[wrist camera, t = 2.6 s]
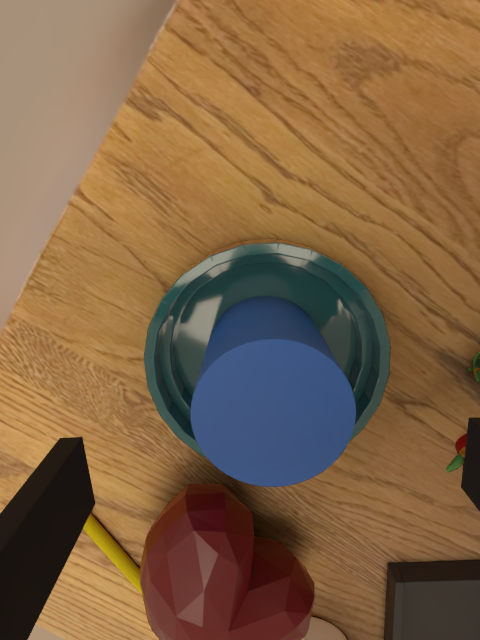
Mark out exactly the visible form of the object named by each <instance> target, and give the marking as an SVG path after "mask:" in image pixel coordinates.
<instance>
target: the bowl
mask: <svg viewBox="0 0 480 640" xmlns="http://www.w3.org/2000/svg"><path fill="white" fill-rule="evenodd" d="M258 296H273V297H279V298H282V299H286V300H288V301H290V302H292V303H294V304H296V305H298V306H299V307H300V308H302V309H303V310H304V311H305V312H306V313H307V314H308V315H309V316H310V317H311V319H312V320H313V321H314V323H315V325H316V326H317V328H318V330H319V332H320V333H321V335H322V337H323V338H324V340H325V342H326V343H327V345H328V347H329V348H330V350H331V352H332V353H333V355H334V357H335V359H336V360H337V362H338V364H339V365H340V367H341V369H342V370H343V372H344V374H345V375H346V377H347V379H348V381H349V383H350V385H351V388H352V390H353V393H354V398H355V403H356V419H355V425H354V429H353V433H352V435H351V438H350V440H349V441H351V440H352V439H353V438H354V437H355V436H356V435H357V434H358V433H359V432H361V431H362V430H363V429H364V427H365V426H366V424H367V423H368V421H369V420H370V418H371V417H372V415H373V414H374V412H375V411H376V409H377V408H378V406H379V404H380V402H381V399H382V396H383V393H384V390H385V387H386V384H387V381H388V378H389V372H390V350H391V346H390V340H389V336H388V332H387V328H386V324H385V320H384V316H383V314H382V312H381V311H380V309H379V307H378V305H377V304H376V302H375V300H374V299H373V297H372V295H371V293H370V292H369V290H368V289H367V288H366V286H365V285H364V284H363V283H362V282H361V281H359V280H358V279H357V278H356V277H355V276H354V275H353V274H352V273H351V272H350V271H349V270H348V269H347V268H346V267H345V266H343V265H342V264H340V263H339V262H337V261H335V260H334V259H332V258H330V257H328V256H326V255H324V254H322V253H320V252H318V251H316V250H314V249H312V248H311V247H309V246H305V245H303V244H298V243H294V242H289V241H284V240H279V239H261V240H245V241H241V242H238V243H235V244H232V245H229V246H226V247H223V248H220V249H217V250H215V251H213V252H211V253H210V254H208V255H207V256H205V257H204V258H202V259H201V260H199V261H198V262H196V263H195V264H194V265H192V266H191V267H189V268H188V269H187V270H186V271H185V272H184V273H183V274H182V275H181V276H180V278H179V279H178V280H177V281H176V282H175V284H174V285H173V286H172V287H171V288H170V289H169V291H168V292H167V293H166V294H165V295H164V297H163V298H162V299H161V301H160V303H159V305H158V307H157V309H156V312H155V314H154V316H153V318H152V320H151V323H150V325H149V328H148V332H147V339H146V346H145V352H144V364H145V372H146V379H147V386H148V389H149V392H150V394H151V396H152V399H153V401H154V403H155V406H156V408H157V410H158V412H159V414H160V416H161V417H162V419H163V420H164V421H165V422H166V424H167V425H168V426H169V427H170V429H171V430H172V431H173V432H174V434H175V435H176V436H177V437H178V438H179V439H180V440H182V441H183V442H184V443H185V444H187V445H188V446H189V447H191V448H192V449H193V450H195V451H196V452H197V453H199V454H200V455H202V456H204V457H206V456H205V455H204V453H203V452H202V450H201V449H200V447H199V445H198V443H197V441H196V439H195V436H194V433H193V430H192V425H191V413H190V410H191V401H192V398H193V394H194V390H195V387H196V383H197V380H198V376H199V373H200V369H201V366H202V362H203V359H204V355H205V352H206V348H207V345H208V341H209V338H210V334H211V332H212V329H213V327H214V325H215V324H216V322H217V320H218V319H219V318H220V317H221V315H222V314H223V313H224V312H225V311H226V310H228V309H229V308H230V307H232V306H233V305H235V304H237V303H238V302H240V301H243V300H245V299H248V298H252V297H258ZM206 458H207V457H206Z"/></svg>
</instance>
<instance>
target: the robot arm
mask: <svg viewBox="0 0 480 640" xmlns="http://www.w3.org/2000/svg"><path fill="white" fill-rule="evenodd" d="M461 488H462V489H463V490H464V492H465V493H466V494H467V495H468V497H469V498H470V499H471V501H472V502H473V503H474V504H475V506H476V507H477V508H478V510H479V511H480V418H469V422H468V431H467V440H466V449H465V457H464V466H463V475H462V484H461ZM94 505H95V500H94V494H93V489H92V484H91V479H90V474H89V469H88V464H87V459H86V454H85V449H84V444H83V439H82V437H75V438H60V439H59V440H58V442H57V443H56V444H55V445H54V447H53V448H52V449H51V450H50V452H49V453H48V454H47V455H46V457H45V458H44V459H43V461H42V462H41V463H40V464H39V466H38V467H37V468H36V469H35V471H34V472H33V473H32V474H31V476H30V477H29V478H28V479H27V481H26V482H25V483H24V485H23V486H22V487H21V488H20V490H19V491H18V492H17V493H16V495H15V496H14V497H13V498H12V500H11V501H10V502H9V503H8V505H7V506H6V507H5V509H4V510H3V511H2V512H1V514H0V640H27V639H28V637H29V635H30V633H31V631H32V629H33V627H34V625H35V623H36V621H37V619H38V617H39V615H40V613H41V611H42V609H43V607H44V605H45V603H46V601H47V599H48V597H49V595H50V593H51V591H52V589H53V587H54V585H55V583H56V581H57V579H58V577H59V575H60V573H61V571H62V569H63V567H64V565H65V563H66V561H67V559H68V557H69V555H70V553H71V551H72V549H73V547H74V545H75V543H76V541H77V539H78V537H79V535H80V533H81V531H82V529H83V527H84V525H85V523H86V521H87V519H88V517H89V515H90V513H91V511H92V509H93V507H94Z"/></svg>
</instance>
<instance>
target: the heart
mask: <svg viewBox="0 0 480 640" xmlns="http://www.w3.org/2000/svg"><path fill="white" fill-rule="evenodd" d="M140 585H141V590H142V595H143V600H144V604H145V609H146V614H147V619H148V622H149V624H150V627H151V629H152V631H153V632H154V633H155V635H156V636H157V637H158V638H159V640H301V639H303V638H304V637H305V636H306V634H307V632H308V630H309V624H310V619H311V613H312V608H313V602H314V597H315V596H314V582H313V580H312V578H311V577H310V575H309V573H308V572H307V570H306V568H305V567H304V566H303V565H302V564H301V563H300V561H299V560H298V559H297V558H296V557H295V556H294V555H293V554H292V553H291V552H290V551H289V550H288V549H287V548H286V547H285V546H284V545H283V544H282V543H280V542H277V541H274V540H271V539H267V538H262V537H256V536H254V529H253V515H252V512H251V511H250V510H249V509H247V508H246V507H245V506H244V505H243V504H242V503H241V502H240V501H239V500H238V499H237V498H236V497H235V496H234V495H233V494H232V493H231V492H230V491H229V490H228V489H227V488H226V487H225V486H224V485H222V484H188V485H187V486H186V487H185V488H184V489H183V490H182V491H181V492H180V493H179V494H178V495H177V496H176V497H175V498H174V499H173V500H172V501H171V502H169V503H168V504H167V505H166V507H165V508H164V510H163V511H162V512H161V514H160V515H159V517H158V518H157V520H156V521H155V522H154V524H153V525H152V527H151V529H150V531H149V533H148V535H147V537H146V541H145V546H144V551H143V556H142V562H141V567H140Z"/></svg>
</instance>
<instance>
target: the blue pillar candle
mask: <svg viewBox="0 0 480 640" xmlns="http://www.w3.org/2000/svg"><path fill="white" fill-rule="evenodd" d="M190 413H191V425H192V430H193V433H194V436H195V439H196V441H197V443H198V445H199V447H200V449H201V450H202V452H203V453H204V455H205V456H206V457H207V458H208V459H209V461H210V462H211V463H212V464H213V465H215V466H216V467H217V468H218V469H219V470H221V471H222V472H224V473H225V474H227V475H228V476H230V477H232V478H234V479H236V480H239V481H242V482H244V483H248V484H252V485H257V486H265V487H279V486H288V485H292V484H297V483H300V482H303V481H306V480H308V479H310V478H312V477H314V476H316V475H318V474H319V473H321V472H323V471H324V470H325V469H327V468H328V467H329V466H331V465H332V464H333V463H334V462H335V461H336V460H337V459H338V458H339V456H340V455H341V454H342V452H343V451H344V450H345V448H346V446H347V444H348V443H349V440H350V438H351V435H352V433H353V429H354V425H355V419H356V403H355V398H354V393H353V390H352V388H351V385H350V383H349V381H348V379H347V377H346V375H345V374H344V372H343V370H342V369H341V367H340V365H339V364H338V362H337V360H336V359H335V357H334V355H333V353H332V352H331V350H330V348H329V347H328V345H327V343H326V342H325V340H324V338H323V337H322V335H321V333H320V332H319V330H318V328H317V326H316V325H315V323H314V321H313V320H312V319H311V317H310V316H309V315H308V314H307V313H306V312H305V311H304V310H303V309H302V308H300V307H299V306H298V305H296V304H294V303H292V302H290V301H288V300H286V299H282V298H279V297H273V296H258V297H252V298H248V299H245V300H243V301H240V302H238V303H237V304H235V305H233V306H232V307H230V308H229V309H228V310H226V311H225V312H224V313H223V314H222V315H221V317H220V318H219V319H218V320H217V322H216V324H215V325H214V327H213V329H212V332H211V334H210V338H209V341H208V345H207V348H206V352H205V355H204V359H203V362H202V366H201V369H200V373H199V376H198V380H197V383H196V387H195V390H194V394H193V398H192V401H191V410H190Z"/></svg>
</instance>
